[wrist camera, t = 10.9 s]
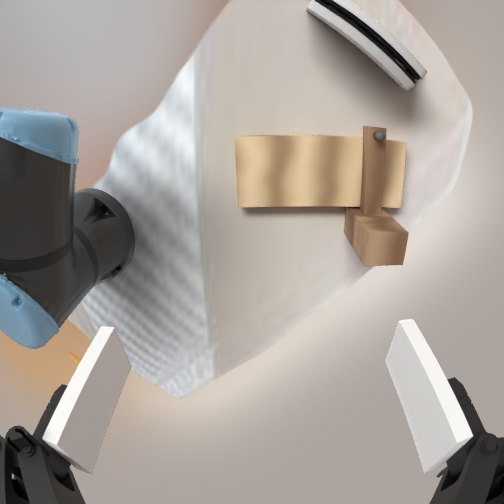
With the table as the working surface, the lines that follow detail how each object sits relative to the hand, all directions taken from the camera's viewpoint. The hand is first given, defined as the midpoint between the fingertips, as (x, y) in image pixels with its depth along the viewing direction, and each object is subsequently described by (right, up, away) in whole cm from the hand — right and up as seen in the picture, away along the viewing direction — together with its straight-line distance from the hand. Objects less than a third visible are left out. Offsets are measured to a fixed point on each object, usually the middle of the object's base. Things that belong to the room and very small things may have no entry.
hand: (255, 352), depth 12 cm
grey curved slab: (+14, +32, +16) cm, 38 cm away
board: (+9, +15, +24) cm, 30 cm away
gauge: (+15, +14, +24) cm, 31 cm away
